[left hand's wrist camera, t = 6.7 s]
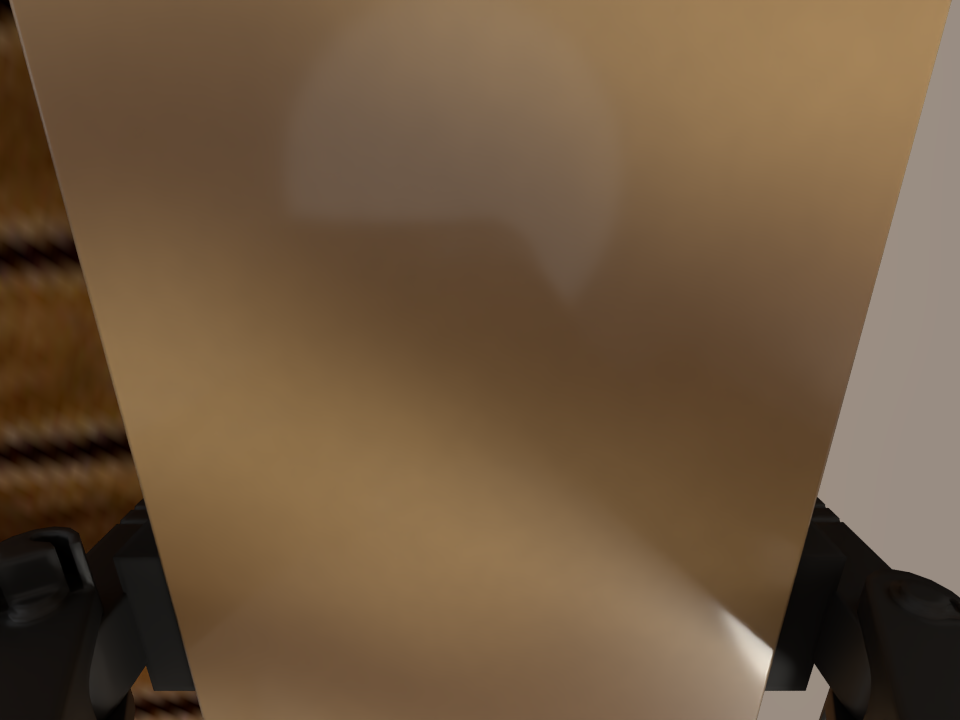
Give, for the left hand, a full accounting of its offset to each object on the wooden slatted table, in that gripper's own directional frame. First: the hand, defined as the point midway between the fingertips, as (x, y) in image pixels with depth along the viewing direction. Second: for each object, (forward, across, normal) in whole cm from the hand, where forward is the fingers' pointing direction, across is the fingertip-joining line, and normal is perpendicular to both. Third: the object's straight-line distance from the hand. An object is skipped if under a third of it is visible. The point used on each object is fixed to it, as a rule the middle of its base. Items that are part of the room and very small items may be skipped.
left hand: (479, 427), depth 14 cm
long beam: (+1, 0, -31) cm, 31 cm away
